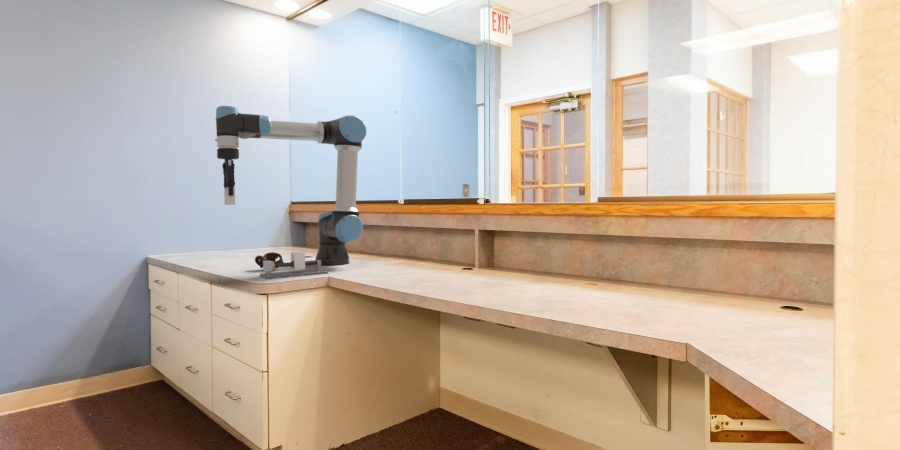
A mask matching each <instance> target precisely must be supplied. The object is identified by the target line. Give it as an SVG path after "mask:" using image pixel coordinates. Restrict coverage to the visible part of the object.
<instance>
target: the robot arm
mask: <svg viewBox="0 0 900 450" xmlns="http://www.w3.org/2000/svg"><path fill="white" fill-rule="evenodd" d="M215 110H216V111H215V126H216V138H215V139H214V141H215V142H216V147H217V150H216V158H217V159H218V160H224V162H223V163H222V172H223V193H224V195H223V197H224V199H223V200H224V206H236V195H235V194H236V193H235V188H236V187H235V186H236V181H235V180H236V179H235V166H236V165H235V163H234V162H235V161H234V160H238V159H240V150H239V149H238V148H240V147H239V145H240V143H239V142H240V139H244V140H247V139H269V140H271V139H272V140H290V141H291V140H293V141H307V142H308V141H312V142H317V143H318V144H325V145H334V146H333V147H334V148H335V150H336V151H337V156H336V157H337V159H336V160H337V161H336V182H335V185H336V186H335V187H336V189H335V206H334V207H333V208H332V209H331V211H328V212H326V211H325V212H321V213H319V215H318V220H317V223H318V249H317V253H316V255H315V259H314V261H315V260H321V266H334V265H335V266H336V265H337V266H338V265H339V266H340V265H346V264H349V263H350V256H349V253H348V251H347V250H348V249H347V247H346V243H352V242H355V241H357V240H358V239H360V237H361V235H362V233H363V230H364V225H363V221H362V220H361V219H360V210H359V209H358V208H357V184H358V157H359V152H360V151H361V150H362V148H363V147H362V145H363V141H364V139H365V138H366V136H367V130H368V129H367V127H366V123H365V122H364V121H363V119H362V118H360V117H359V116H357V115H344V116H342V117H339V118H336V119H332V120H329V121H328V120H327V121H318V122H316V123H313V122H312V123H310V122H298V121H284V120H283V121H280V120H271V118H270V116H268V115H262V114H253V113H252V114H251V113H241V112H239V111H238V107H236V106H231V105H219V106H218V107H216V109H215Z"/></svg>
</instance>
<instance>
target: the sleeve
mask: <svg viewBox="0 0 900 450" xmlns="http://www.w3.org/2000/svg"><path fill="white" fill-rule="evenodd" d="M305 261H306V252H302V251H296V252H295V251H294V252H293V251H292V252H290V262H294V266H291V267H290V269H291V270H292V271H297V270H306V265H305Z"/></svg>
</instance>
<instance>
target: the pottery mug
mask: <svg viewBox="0 0 900 450" xmlns="http://www.w3.org/2000/svg"><path fill="white" fill-rule="evenodd" d="M276 259H278V260H276ZM263 261H273V262H274V263H285V261H284V259H283V257H282V255H281V254H280V253H278V252H271V251H270V252H266V253H264V255H256V257H255V258H254V263H256V264H257V265H258V266H259V268H260V269H263ZM277 268H278V269H279V268H280V267H277ZM277 268H276V269H277Z"/></svg>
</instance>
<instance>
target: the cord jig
mask: <svg viewBox="0 0 900 450" xmlns="http://www.w3.org/2000/svg"><path fill="white" fill-rule="evenodd" d="M313 265H314V268H313V269H312V268H310V269H302V270H287V271H274V270H276V269H277V267H279V268H288V267H289V268H291V266H294V262H291V261H290V262H284V263H274V262H273V261H263V268H262V269H263V273H259V276H260V277H263V278H264V277H265V279H267V278H270V279H278V278H277V277H281V278H289V276H293V277H302V276H301V275H304V276H314V275H315V274H316V275H326V274H328V273H329V271H328V270H324V269H322V265H321V260H315V259H314V260H305V266H313ZM273 271H274V272H273Z"/></svg>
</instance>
